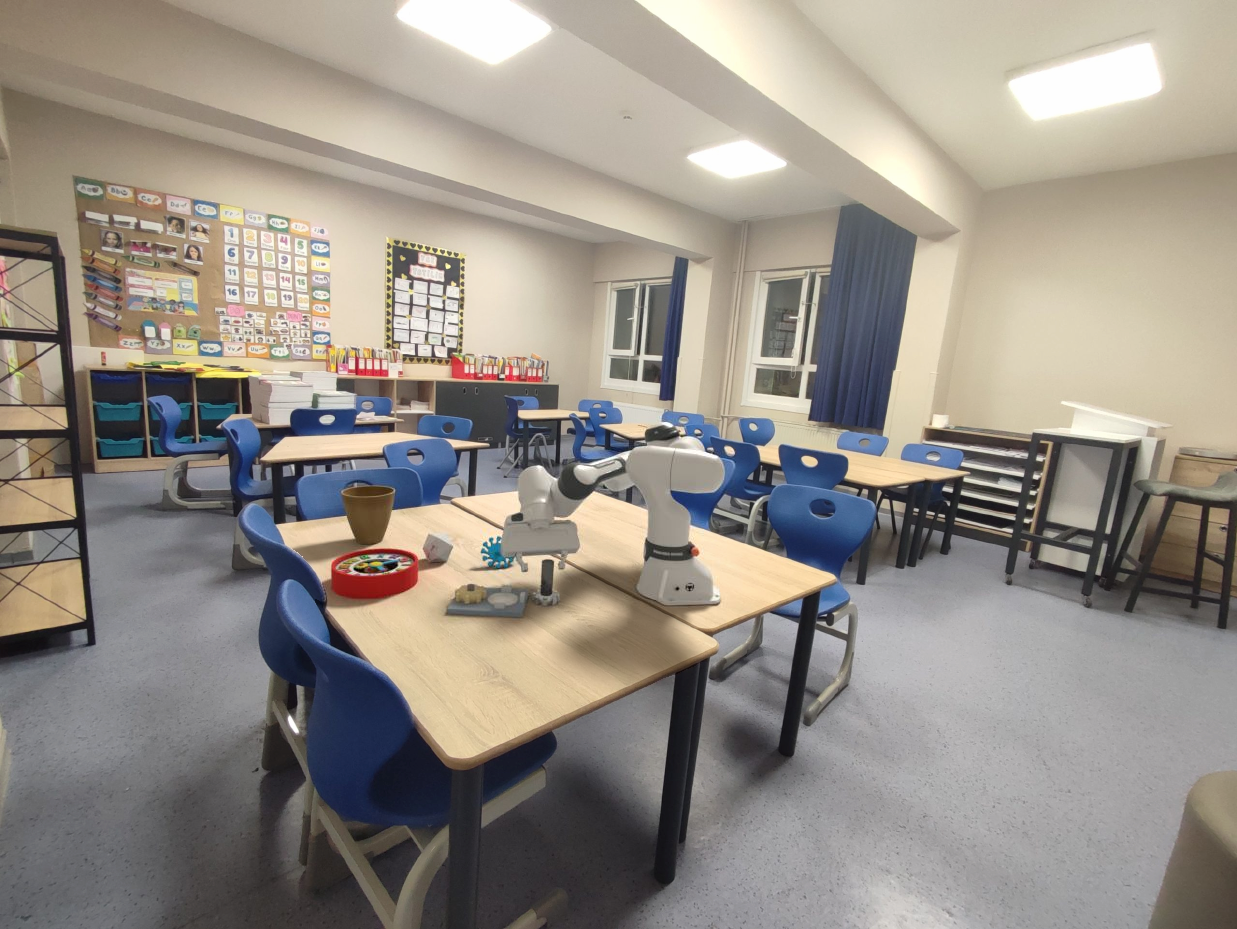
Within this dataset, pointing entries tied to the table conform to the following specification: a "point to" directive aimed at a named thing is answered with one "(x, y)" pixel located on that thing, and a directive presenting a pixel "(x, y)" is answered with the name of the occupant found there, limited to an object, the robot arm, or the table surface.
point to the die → (437, 547)
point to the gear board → (489, 601)
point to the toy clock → (374, 573)
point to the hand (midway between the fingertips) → (543, 570)
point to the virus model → (495, 553)
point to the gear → (546, 586)
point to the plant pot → (368, 511)
